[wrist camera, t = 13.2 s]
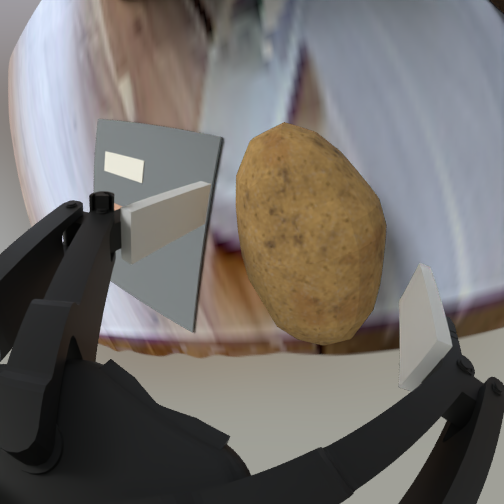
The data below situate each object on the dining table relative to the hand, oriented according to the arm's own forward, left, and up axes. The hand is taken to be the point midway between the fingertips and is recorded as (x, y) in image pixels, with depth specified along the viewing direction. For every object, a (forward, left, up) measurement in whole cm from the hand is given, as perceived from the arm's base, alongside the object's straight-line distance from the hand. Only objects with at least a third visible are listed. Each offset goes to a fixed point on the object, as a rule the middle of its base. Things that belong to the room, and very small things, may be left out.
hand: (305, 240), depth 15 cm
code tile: (+7, -19, -6) cm, 21 cm away
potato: (0, 0, -6) cm, 6 cm away
